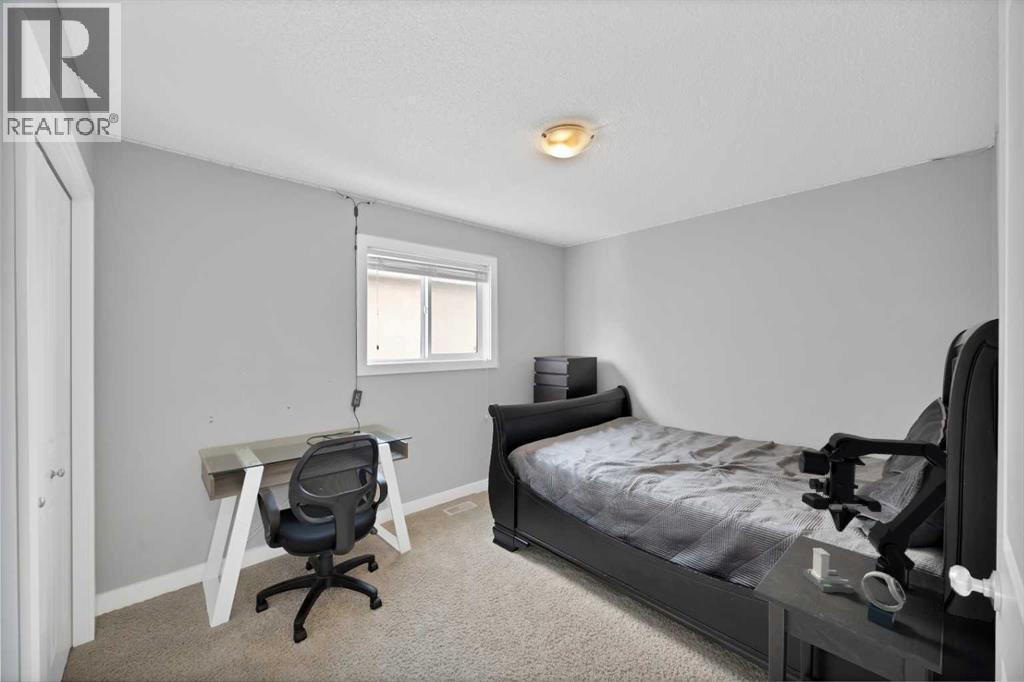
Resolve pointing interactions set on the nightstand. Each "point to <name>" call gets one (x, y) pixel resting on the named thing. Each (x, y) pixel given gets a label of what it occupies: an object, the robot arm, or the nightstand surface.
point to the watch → (879, 609)
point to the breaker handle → (820, 563)
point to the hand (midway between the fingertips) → (839, 531)
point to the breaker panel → (830, 582)
